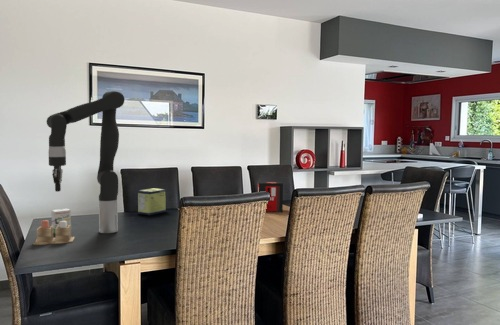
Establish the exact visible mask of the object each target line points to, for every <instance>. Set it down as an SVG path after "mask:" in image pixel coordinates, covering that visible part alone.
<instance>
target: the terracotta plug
mask: <svg viewBox="0 0 500 325" xmlns="http://www.w3.org/2000/svg"><path fill="white" fill-rule="evenodd" d="M49 226H50V222H49V219H48V220H47V219H44V220H41V221H40V227H41V229H48V228H49Z"/></svg>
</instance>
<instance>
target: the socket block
mask: <svg viewBox="0 0 500 325" xmlns="http://www.w3.org/2000/svg"><path fill="white" fill-rule="evenodd" d="M54 235H55V237H54ZM75 239H76V237H75V236H72V224H71V225H67V228H60V226H57V227H56V228H55V233H53V226H52V225H49V228H48V229H41V226H38V228H37V229H36V240H35V241H34V242H33V243H32V246H39V245H40V246H42V245H54V244H55V245H57V244H73V242H74V240H75Z"/></svg>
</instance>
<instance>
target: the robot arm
mask: <svg viewBox="0 0 500 325" xmlns="http://www.w3.org/2000/svg"><path fill="white" fill-rule="evenodd" d="M125 101H126V100H125V96H124V94H123V93H122V92H120V91H117V90H110V91H106V92H105V93H103V94H102V97H101V98H99V99H96V100H93V101H89V102H87V103H83V104H79V105H76V106H74V107H71V108H69V109H67V110H64V111H61V112H56V113H54V114H50V115H49V116H48V117H47V118H46V125H47V126H48V127H49V128H50V135H49V136H48V166H50V167H53V169H52V181H53V184H54V189H55V190H54V191H55V192H61V189H62V186H61V183H62V181H63V171H64V170H63V169H62V167H64V166H67V157H66V155H67V151H66V139H65V138H66V135H67V134H66V132H67V125H69V124H73V123H78V122H79V121H80V122H81V121H82V120H85V119H87V118H89V117H92V116H94V115H96V114H100V113H101V114H102V115H101V117H102V118H101V126H100V127H101V129H100V130H101V132H100V141H99V142H100V143H99V146H100V147H99V163H98V164H99V165H98V169H97V170H98V171H97V175H96V179H97V183H98V184H99V185H100V186H99V187H100V188H99V189H100V190H99V192H100V193H99V194H98V230H99V234H100V233H101V234H113V233H117V232H119V231H118V230H119V227H118V226H119V225H118V224H119V222H118V220H119V219H118V215H119V214H118V195H119V177H118V174H117V173H116V172H115V171H114V162H115V157H116V154H117V152H118V149H119V140H120V133H119V132H120V131H119V127H118V124H117V119H116V118H117V109H120V108H121V107H123V105H124V104H125Z"/></svg>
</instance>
